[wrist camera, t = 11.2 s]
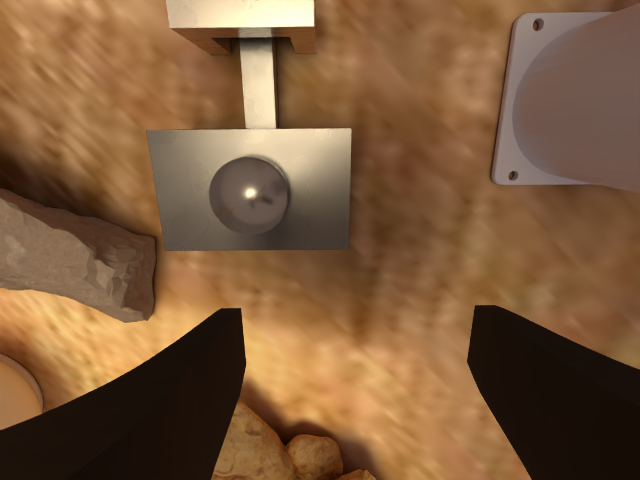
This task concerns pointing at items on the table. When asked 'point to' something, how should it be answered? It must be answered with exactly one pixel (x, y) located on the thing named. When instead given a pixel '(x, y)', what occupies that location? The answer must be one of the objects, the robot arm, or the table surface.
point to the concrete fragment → (75, 258)
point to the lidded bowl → (17, 393)
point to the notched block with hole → (243, 22)
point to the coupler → (253, 175)
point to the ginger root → (277, 454)
